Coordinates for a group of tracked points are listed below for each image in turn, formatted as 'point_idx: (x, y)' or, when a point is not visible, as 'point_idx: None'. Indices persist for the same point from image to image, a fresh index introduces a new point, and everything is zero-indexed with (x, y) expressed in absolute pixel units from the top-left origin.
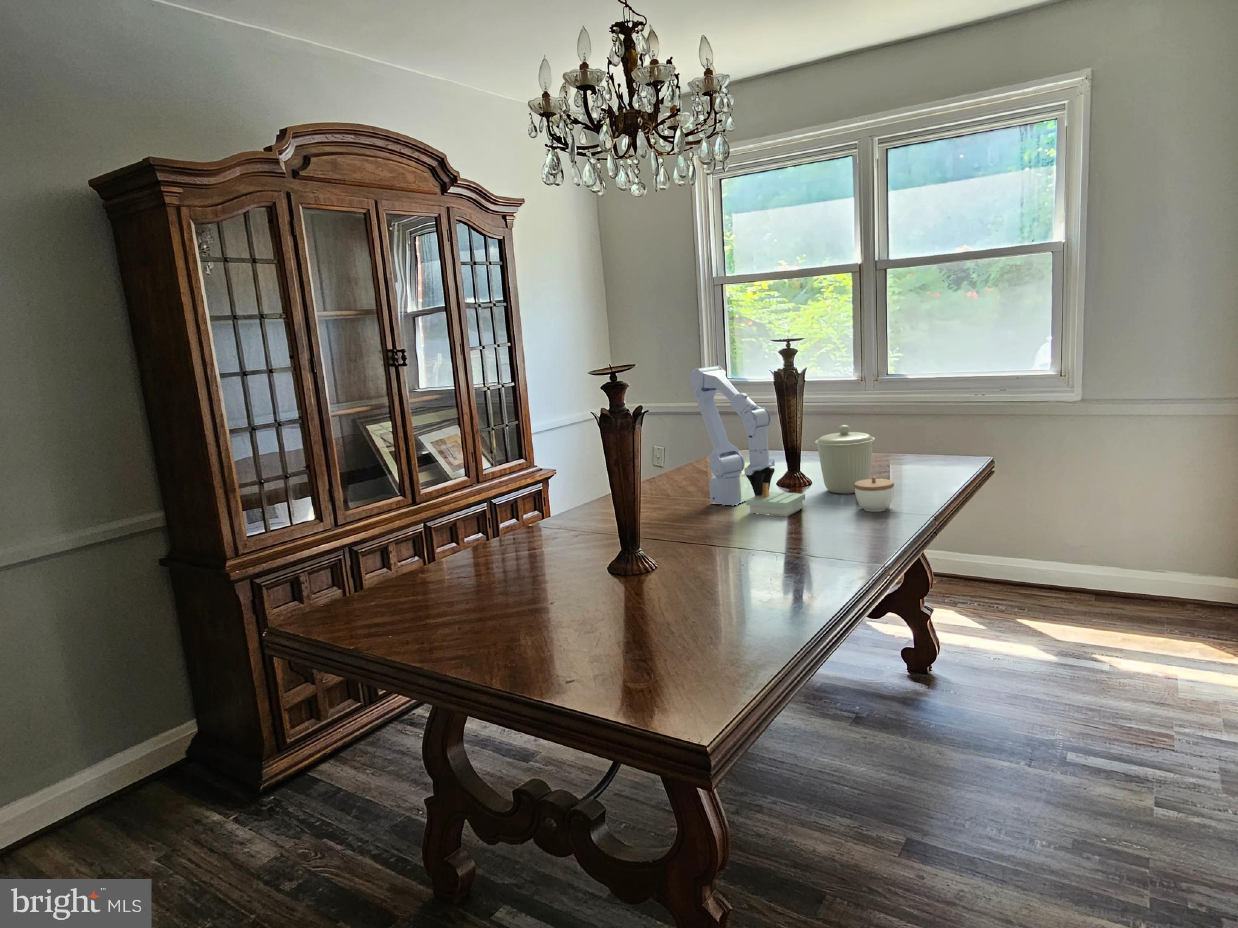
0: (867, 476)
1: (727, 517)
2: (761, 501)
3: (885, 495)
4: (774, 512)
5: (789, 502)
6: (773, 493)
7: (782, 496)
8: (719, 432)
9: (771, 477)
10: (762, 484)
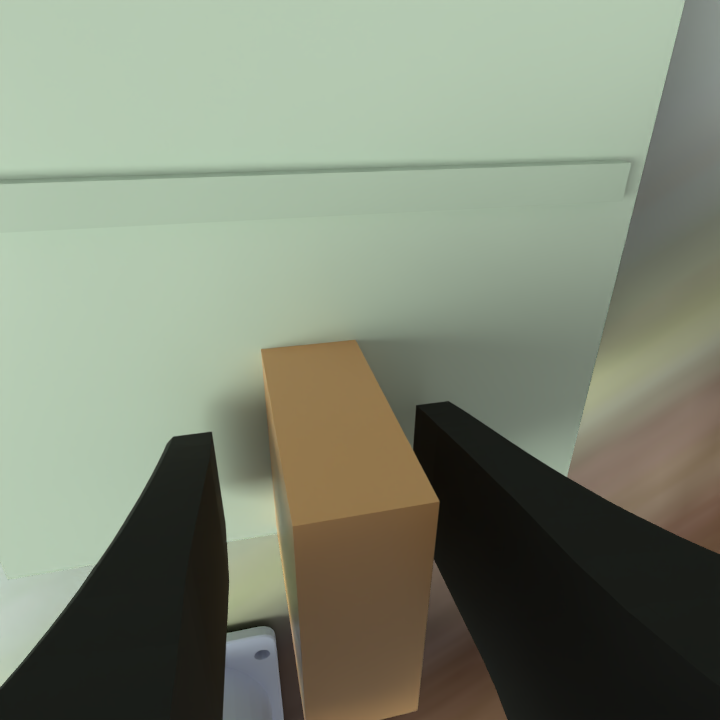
0: None
1: (603, 460)
2: (615, 260)
3: None
4: None
5: None
6: (53, 389)
7: (208, 56)
8: None
9: (12, 698)
10: (542, 514)
